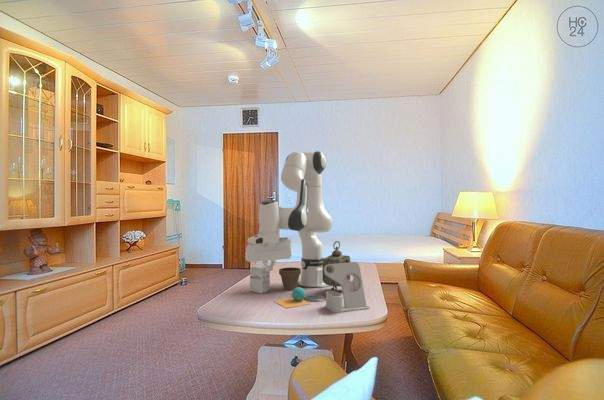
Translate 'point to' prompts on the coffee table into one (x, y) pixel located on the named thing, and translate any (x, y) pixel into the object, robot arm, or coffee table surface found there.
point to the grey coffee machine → (346, 288)
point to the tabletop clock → (334, 259)
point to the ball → (298, 294)
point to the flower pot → (290, 277)
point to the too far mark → (314, 298)
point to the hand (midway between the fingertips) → (269, 270)
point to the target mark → (291, 303)
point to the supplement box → (259, 279)
